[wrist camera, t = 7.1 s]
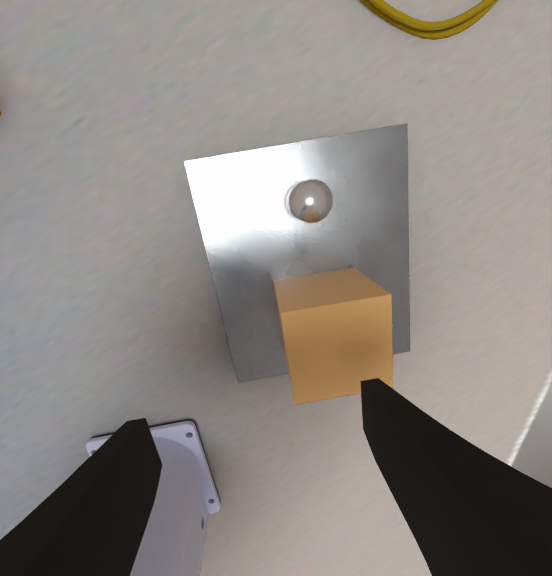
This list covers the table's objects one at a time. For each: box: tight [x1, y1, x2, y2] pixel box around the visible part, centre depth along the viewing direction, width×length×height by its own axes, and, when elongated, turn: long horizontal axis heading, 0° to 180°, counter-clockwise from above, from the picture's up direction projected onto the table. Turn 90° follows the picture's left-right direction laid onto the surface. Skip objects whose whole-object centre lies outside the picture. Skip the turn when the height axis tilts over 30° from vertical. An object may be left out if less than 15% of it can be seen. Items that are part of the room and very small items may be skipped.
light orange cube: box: [273, 268, 393, 405], centre depth 16 cm, size 5×5×5 cm
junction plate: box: [184, 124, 410, 383], centre depth 16 cm, size 14×12×4 cm
